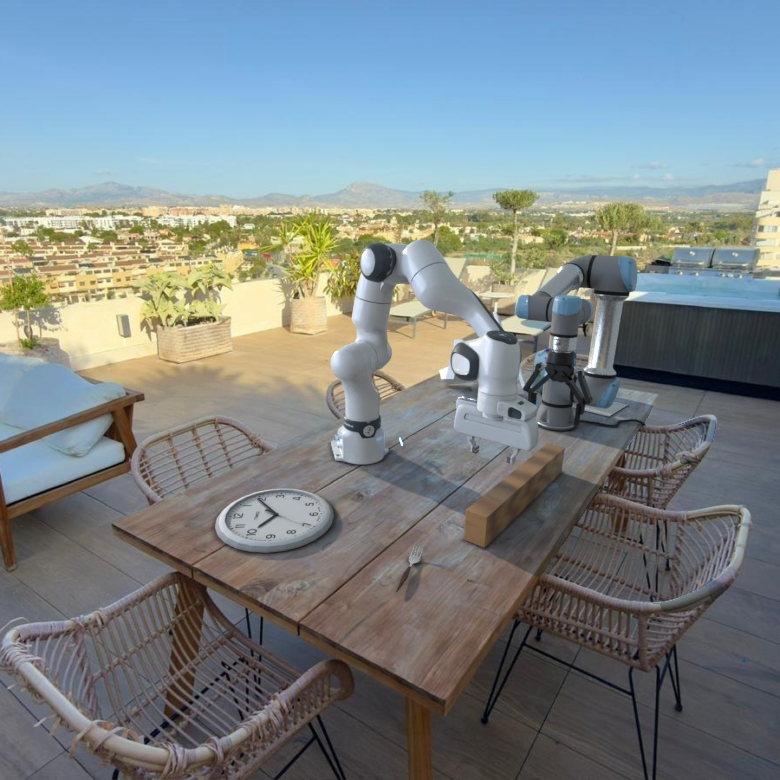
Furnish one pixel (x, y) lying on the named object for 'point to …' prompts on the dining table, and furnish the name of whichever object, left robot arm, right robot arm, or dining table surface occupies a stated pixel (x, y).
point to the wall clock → (274, 520)
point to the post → (512, 495)
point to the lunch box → (542, 357)
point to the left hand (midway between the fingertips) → (492, 457)
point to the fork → (413, 560)
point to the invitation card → (608, 411)
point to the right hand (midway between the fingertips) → (553, 419)
